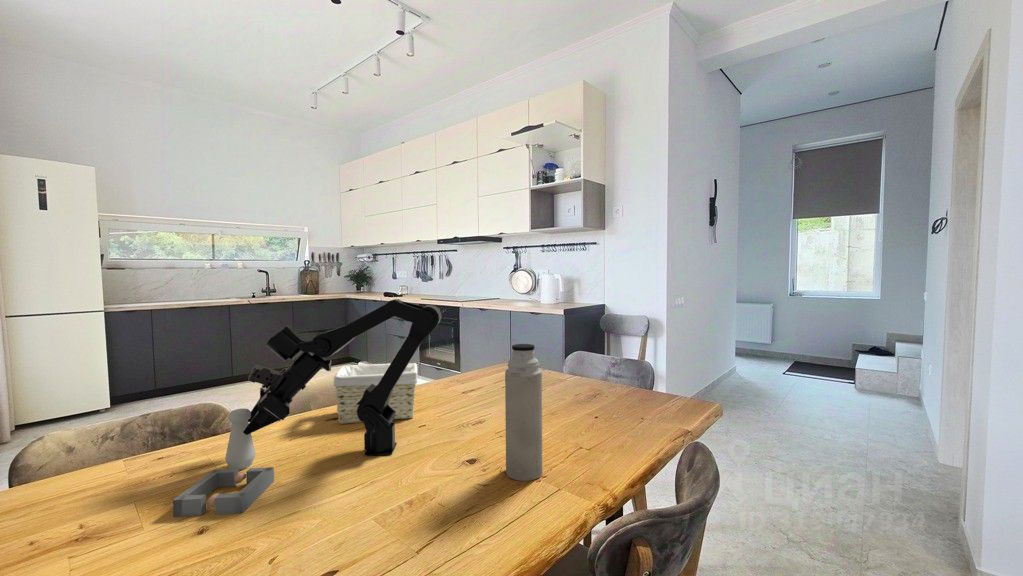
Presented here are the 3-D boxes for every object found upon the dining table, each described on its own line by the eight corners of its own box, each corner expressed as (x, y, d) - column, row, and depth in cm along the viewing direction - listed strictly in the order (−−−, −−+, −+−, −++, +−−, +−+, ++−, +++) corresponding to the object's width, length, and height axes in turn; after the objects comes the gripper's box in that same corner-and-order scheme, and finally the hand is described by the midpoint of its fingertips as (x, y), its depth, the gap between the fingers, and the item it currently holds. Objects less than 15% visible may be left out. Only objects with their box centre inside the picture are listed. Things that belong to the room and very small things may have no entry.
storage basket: (417, 404, 142) (416, 360, 142) (418, 420, 127) (417, 371, 126) (341, 410, 137) (340, 365, 136) (333, 427, 121) (331, 376, 121)
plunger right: (247, 478, 89) (247, 470, 89) (242, 483, 87) (241, 475, 87) (239, 478, 89) (239, 471, 89) (233, 483, 86) (233, 475, 86)
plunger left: (223, 499, 80) (223, 491, 80) (216, 506, 78) (215, 497, 78) (214, 500, 80) (214, 491, 80) (206, 506, 78) (206, 497, 78)
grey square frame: (274, 481, 89) (273, 467, 89) (242, 513, 77) (242, 496, 77) (214, 483, 88) (214, 469, 88) (173, 516, 77) (172, 500, 76)
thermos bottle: (512, 462, 98) (511, 341, 97) (546, 466, 95) (545, 342, 94) (500, 477, 90) (499, 346, 89) (536, 483, 88) (535, 348, 87)
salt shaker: (241, 473, 93) (239, 414, 93) (219, 471, 94) (217, 413, 94) (261, 461, 99) (260, 406, 98) (240, 460, 100) (239, 405, 100)
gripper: (272, 346, 107) (220, 395, 102) (271, 359, 91) (209, 418, 86) (306, 374, 111) (258, 422, 106) (312, 390, 95) (255, 449, 90)
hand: (246, 427), depth 97 cm, fingers open, 9 cm apart
